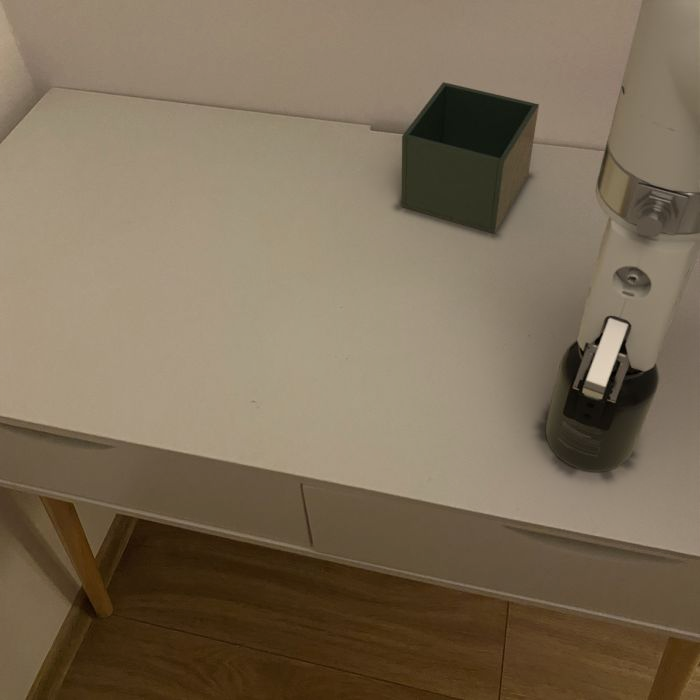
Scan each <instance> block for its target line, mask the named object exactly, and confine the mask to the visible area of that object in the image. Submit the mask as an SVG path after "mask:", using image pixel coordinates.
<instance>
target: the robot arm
mask: <svg viewBox="0 0 700 700" xmlns="http://www.w3.org/2000/svg"><path fill="white" fill-rule="evenodd" d="M629 48H630V49H629V52H628V56H627V60H626V65H625V67H624V72H623V76H622V80H621V84H620V88H619V93H618V97H617V99H616V105H615V110H614V112H613V117H612V120H611V124H610V125H611V126H610V128H609V134H608V137H607V141H606V143H605V148H604V151H603V156H602V159H601V163H600V164H601V165H600V167H599V168H600V169H599V173H598V175H597V179H596V184H595V197H596V201H597V202H598V205H599V206H600V208H601V210H602V211H603V212H604V213H605V214H606V216H607V217H608V218H607V221H606V225H605V228H604V231H603V236H602V239H601V243H600V247H599V250H598V253H597V257H596V261H595V265H594V268H593V272H592V276H591V280H590V284H589V288H588V291H587V292H588V293H587V296H586V300H585V303H584V308H583V313H582V317H581V322H580V327H579V332H578V335H577V340H578V344H579V346H580V348H581V349H582V350H583V351H584V350H585V348H586V351H585V353H584V356H583V359H582V362H581V365H580V368H579V371H578V373H577V375H576V374H574V376H573V379H572V382H571V385H570V389H569V392H568V396H567V399H566V403H565V406H564V410H563V415H564V416H566V417H568V418H570V419H573V420H576V421H577V422H579V423H581V424H583V425H586V426H590V427H595V428H598V429H601V430H604V431H607V430H609V429H610V426H611V424H612V421H613V418H614V416H615V413H616V410H617V408H618V405H619V402H620V400H621V397H622V394H623V390H620V388H621V385H622V382H623V379H624V377H625V374H626V371H627V369H628V366H629V363H630V365H631V367H632V368H635V369H638V370H641V371H647V370H649V369H651V368H653V367H654V365H655V363H656V362H657V360H658V356H659V354H660V352H661V349H662V347H663V344H664V342H665V340H666V337H667V334H668V332H669V329H670V326H671V324H672V321H673V319H674V317H675V314H676V311H677V309H678V306H679V304H680V302H681V299H682V296H683V294H684V292H685V289H686V286H687V285H688V282H689V279H690V277H691V274H692V272H693V269H694V267H695V264H696V262H697V258H698V255H699V253H700V0H642V1H641V4H640V9H639V11H638V16H637V21H636V25H635V29H634V31H633V37H632V42H631V44H630V47H629ZM601 333H603V335H602V338H601V340H600V343H597V342H596V340H597V338H598V337H599V336H600V334H601ZM624 339H625V340H626V344H625V346H626V350H627V352H625V351H621V350H620V348H621V346H622V343H623V340H624ZM594 354H595V356H594V359H593V362H592V364H591V361H592V358H593V355H594ZM616 361H617V362H620V366H619V368H618V371H617V374H616V377H615V379H614V382H613V381H611V380H609V378H610V376H611V373H612V370H613V367H614V365H615V362H616ZM590 364H591V367H590ZM589 367H590V370H589ZM588 370H589V372H588ZM587 372H588V374H587ZM612 383H613V385H612Z"/></svg>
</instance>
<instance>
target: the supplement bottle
mask: <svg viewBox="0 0 700 700" xmlns="http://www.w3.org/2000/svg"><path fill="white" fill-rule="evenodd" d="M602 335H603V333H601V334H600V336H599V337H598V338H597V340H596V342H597V343H600V340H601V338H602ZM625 344H626V340H625V339H624V340H623V343H622V346H621V348H620V350H621V351H625V352H627V350H626V346H625ZM585 351H586V348H585V350H584V351H583V350H582V349H581V348H580V346H579V344H578V339H577V340H575V341H573V342H572V343H570V345H569V346H568V347H567V348H566V350H565V351H564V353H563V354H562V357H561V361H560V362H559V363H560V364H559V368H558V371H557V377H556V381H555V384H554V388H553V393H552V398H551V402H550V406H549V410H548V414H547V418H546V419H547V420H546V424H545V434H546V439H547V442H548V444H549V446H550V448H551V450H552V451H553V452H554V453H555V454H556V456H558V458H560V459H561V460H562V461H563V462H564V463H566V464H568V465H569V466H571V467H574V468H576V469H579V470H583V471H586V472H605V471H609V470H613V469H616V468H617V467H620V466H621V465H622V464H624V463H625V462H626V461H627V460H628V459H629V458H630V457H631V455H632V454H633V451H634V449H635V447H636V444H637V443H638V439H639V437H640V434H641V432H642V429H643V427H644V424H645V421H646V419H647V416H648V414H649V411H650V408H651V406H652V404H653V400H654V398H655V395H656V393H657V390H658V387H659V382H660V373H659V368H658V365H657V363H656V362H655V365H654V367H653V368H651V369H649V370H647V371H641V370H638V369H635V368H632V367H631V365H630V363H629V366H628V369H627V371H626V374H625V377H624V379H623V382H622V385H621V388H620V390H623V394H622V397H621V400H620V402H619V405H618V408H617V410H616V413H615V416H614V418H613V421H612V424H611V426H610V429H609V430H607V431H604V430H601V429H598V428H595V427H590V426H586V425H583V424H581V423H579V422H577V421H576V420H573V419H570V418H568V417H566V416H564V415H563V410H564V406H565V403H566V399H567V396H568V392H569V389H570V385H571V382H572V379H573V376H574V374H576V375H577V373H578V371H579V368H580V365H581V362H582V359H583V356H584V353H585ZM594 356H595V354H594V355H593V358H592V361H591V364H592V362H593V359H594ZM591 364H590V367H591ZM619 366H620V362H617V361H616V362H615V365H614V367H613V370H612V373H611V376H610V378H609V380H611V381H613V382H614V379H615V377H616V374H617V371H618V368H619ZM590 367H589V370H590ZM589 370H588V372H589ZM588 372H587V374H588ZM612 385H613V383H612Z"/></svg>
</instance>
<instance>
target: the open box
mask: <svg viewBox="0 0 700 700" xmlns="http://www.w3.org/2000/svg"><path fill="white" fill-rule="evenodd" d="M539 107H540V103H534V102H530V101H526V100H522V99H519V98H513V97H509V96H505V95H500V94H496V93H491V92H487V91H483V90H479V89H475V88H470V87H467V86H462V85H458V84H453V83H449V82H445V81H443V82H442V83H440V85H439V87H438V88H437V89H436V91H435V92H434V93H433V95H432V96H431V97H430V98H429V100H428V101H427V103H426V104H425V105H424V106H423V108H422V109H421V110H420V112H419V113H418V115H417V116H416V117H415V118H414V120H413V121H412V122H411V124H410V125H409V126H408V128H407V129H406V131H405V132H403V135H402V136H401V201H400V202H401V205H400V206H401V207H402V208H404V209H407V210H412V211H414V212H418V213H422V214H425V215H428V216H432V217H434V218H435V217H436V218H439V219H442V220H445V221H450V222H453V223H456V224H460V225H463V226H467V227H469V228H474V229H477V230H481V231H484V232H487V233H491V234H494V235H495V234H496V232H497V231H498V229H499V227H500V225H501V224H502V223H503V220H504V218H505V216H506V215H507V213H508V211H509V210H510V208H511V206H512V205H513V202H514V201H515V199H516V197H517V195H518V194H519V192H520V190H521V189H522V187H523V185H524V183H525V181H526V180H527V178H528V176H529V171H530V166H531V158H532V154H533V146H534V139H535V134H536V133H535V132H536V126H537V120H538V115H539V114H538V113H539Z"/></svg>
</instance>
